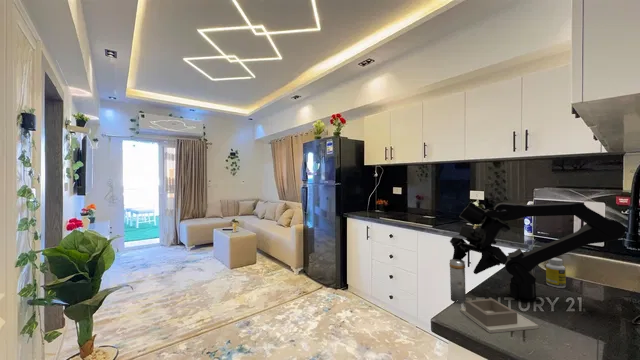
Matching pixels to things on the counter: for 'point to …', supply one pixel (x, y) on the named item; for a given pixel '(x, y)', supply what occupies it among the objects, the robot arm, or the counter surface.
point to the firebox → (495, 316)
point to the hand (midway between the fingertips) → (463, 268)
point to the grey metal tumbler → (457, 280)
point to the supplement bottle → (555, 273)
